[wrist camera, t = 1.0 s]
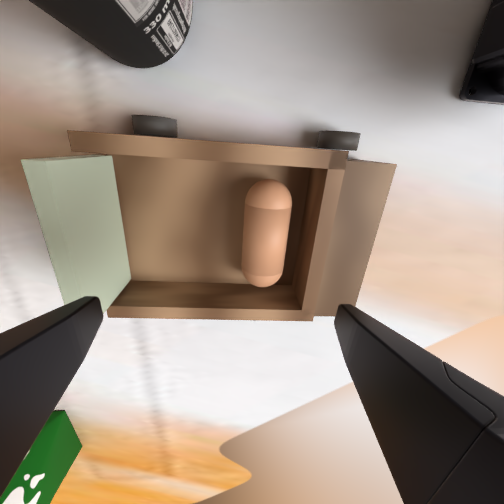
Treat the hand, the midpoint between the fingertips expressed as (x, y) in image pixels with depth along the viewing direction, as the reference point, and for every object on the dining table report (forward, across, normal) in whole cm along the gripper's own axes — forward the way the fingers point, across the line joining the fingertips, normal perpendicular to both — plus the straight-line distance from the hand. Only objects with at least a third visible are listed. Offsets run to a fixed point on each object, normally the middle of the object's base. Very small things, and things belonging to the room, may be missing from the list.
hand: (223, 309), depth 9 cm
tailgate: (+10, +8, 0) cm, 13 cm away
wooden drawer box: (+11, 0, 0) cm, 11 cm away
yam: (+10, -2, 0) cm, 11 cm away
